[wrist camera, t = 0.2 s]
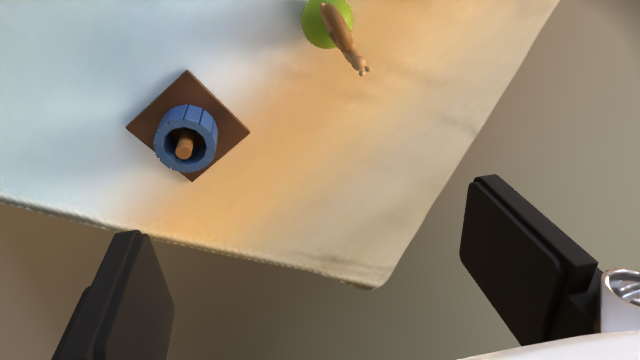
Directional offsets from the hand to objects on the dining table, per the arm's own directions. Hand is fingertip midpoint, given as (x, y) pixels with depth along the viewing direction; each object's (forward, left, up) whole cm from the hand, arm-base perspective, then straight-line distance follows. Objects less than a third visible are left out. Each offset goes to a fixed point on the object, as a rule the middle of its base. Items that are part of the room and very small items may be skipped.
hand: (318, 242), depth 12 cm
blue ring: (+3, -14, -36) cm, 39 cm away
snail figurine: (+4, +6, -37) cm, 38 cm away
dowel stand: (+3, -14, -37) cm, 40 cm away
